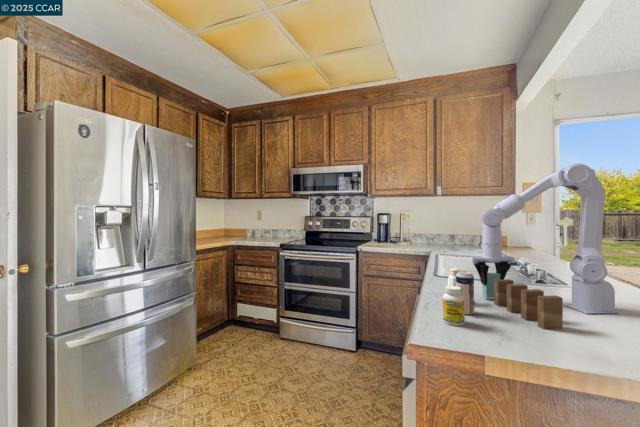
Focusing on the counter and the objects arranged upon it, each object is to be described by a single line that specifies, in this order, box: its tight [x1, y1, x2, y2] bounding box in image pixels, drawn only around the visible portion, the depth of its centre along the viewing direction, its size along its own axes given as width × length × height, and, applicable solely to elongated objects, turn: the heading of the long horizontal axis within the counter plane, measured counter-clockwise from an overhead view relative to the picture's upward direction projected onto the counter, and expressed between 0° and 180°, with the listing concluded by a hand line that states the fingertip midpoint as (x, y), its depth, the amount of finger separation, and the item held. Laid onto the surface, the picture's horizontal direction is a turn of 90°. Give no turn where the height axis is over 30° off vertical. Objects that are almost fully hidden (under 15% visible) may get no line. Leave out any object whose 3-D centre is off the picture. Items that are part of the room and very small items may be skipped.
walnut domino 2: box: [506, 283, 529, 314], centre depth 88 cm, size 2×5×8 cm, turn 92°
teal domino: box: [482, 272, 501, 299], centre depth 100 cm, size 2×5×8 cm, turn 92°
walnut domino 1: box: [493, 278, 514, 307], centre depth 94 cm, size 2×5×8 cm, turn 92°
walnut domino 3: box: [520, 288, 545, 321], centre depth 82 cm, size 2×5×8 cm, turn 92°
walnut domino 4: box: [537, 294, 564, 330], centre depth 76 cm, size 2×5×8 cm, turn 92°
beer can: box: [456, 270, 475, 316], centre depth 87 cm, size 5×5×12 cm
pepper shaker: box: [447, 268, 460, 286], centre depth 98 cm, size 5×5×11 cm
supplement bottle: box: [442, 285, 466, 327], centre depth 80 cm, size 5×5×10 cm
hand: (492, 284), depth 100 cm, fingers closed on teal domino, 5 cm apart
